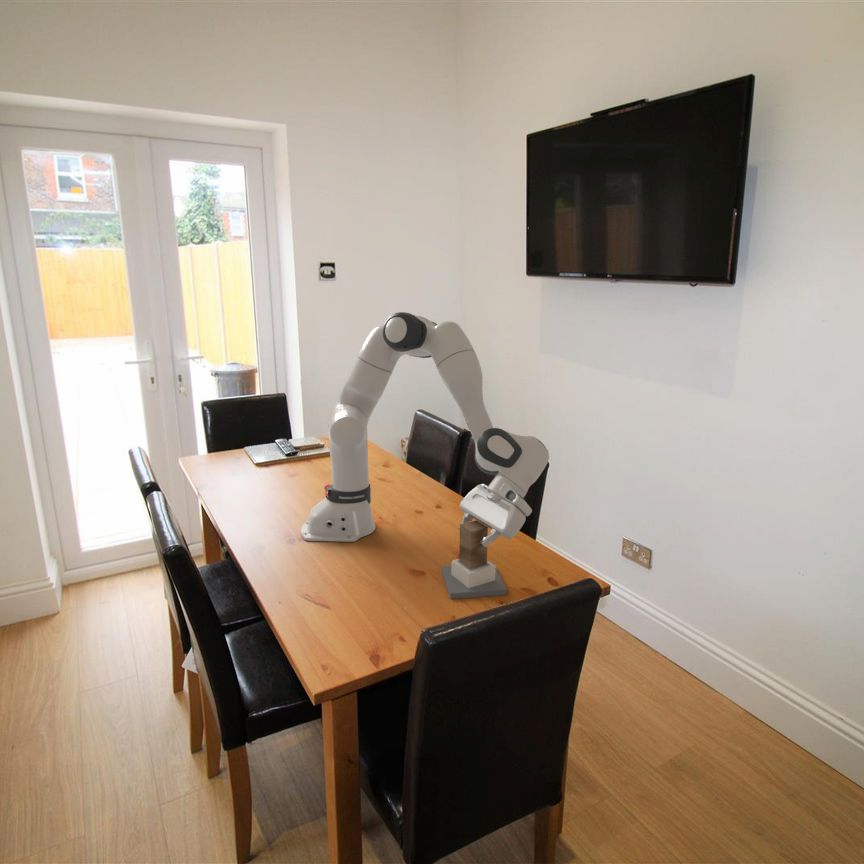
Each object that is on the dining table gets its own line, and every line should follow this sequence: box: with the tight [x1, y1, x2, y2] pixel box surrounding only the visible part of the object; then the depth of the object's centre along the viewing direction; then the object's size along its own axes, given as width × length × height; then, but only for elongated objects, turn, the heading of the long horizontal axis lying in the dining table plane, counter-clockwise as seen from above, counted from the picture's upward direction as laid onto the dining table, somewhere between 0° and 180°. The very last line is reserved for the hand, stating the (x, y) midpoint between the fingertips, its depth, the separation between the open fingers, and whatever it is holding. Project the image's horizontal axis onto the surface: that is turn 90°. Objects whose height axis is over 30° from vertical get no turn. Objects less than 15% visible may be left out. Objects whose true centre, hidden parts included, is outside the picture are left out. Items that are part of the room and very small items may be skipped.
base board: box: [441, 558, 508, 600], centre depth 156 cm, size 14×14×6 cm
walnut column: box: [458, 520, 489, 569], centre depth 154 cm, size 5×5×10 cm
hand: (471, 538), depth 153 cm, fingers open, 8 cm apart
